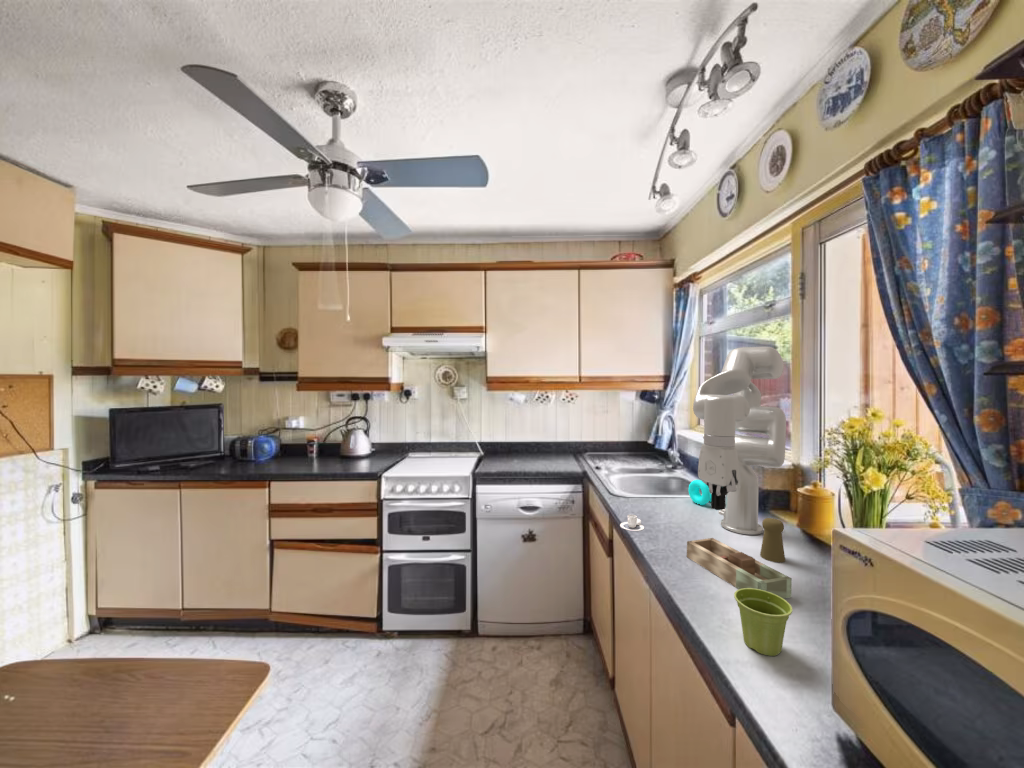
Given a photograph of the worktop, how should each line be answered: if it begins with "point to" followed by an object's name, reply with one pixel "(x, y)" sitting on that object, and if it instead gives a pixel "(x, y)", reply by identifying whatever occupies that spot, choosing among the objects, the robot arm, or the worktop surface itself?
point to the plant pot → (763, 619)
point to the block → (743, 562)
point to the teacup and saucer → (632, 523)
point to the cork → (772, 540)
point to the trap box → (737, 568)
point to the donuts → (695, 493)
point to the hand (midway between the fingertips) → (718, 508)
